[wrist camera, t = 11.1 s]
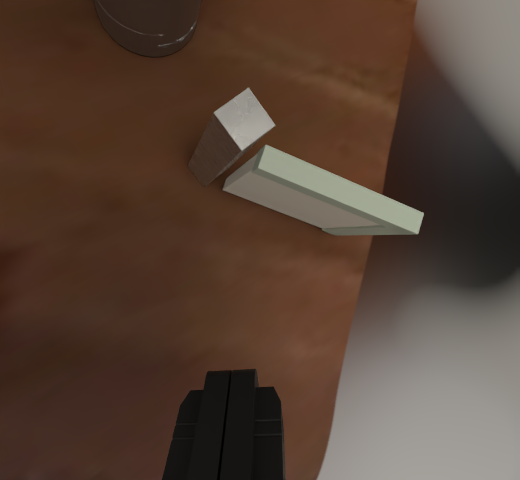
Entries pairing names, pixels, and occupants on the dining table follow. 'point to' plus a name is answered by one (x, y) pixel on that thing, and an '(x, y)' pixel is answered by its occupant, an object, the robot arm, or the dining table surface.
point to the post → (229, 136)
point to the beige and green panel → (319, 196)
